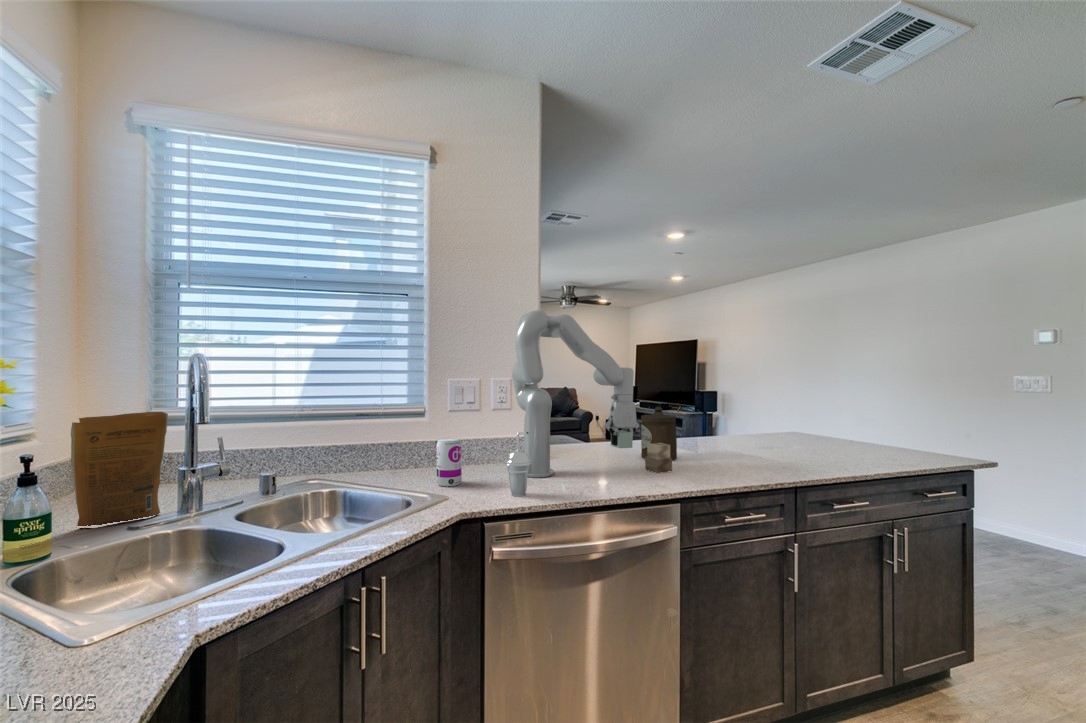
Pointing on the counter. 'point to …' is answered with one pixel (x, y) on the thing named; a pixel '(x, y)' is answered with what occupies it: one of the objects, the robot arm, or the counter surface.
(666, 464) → the walnut base block
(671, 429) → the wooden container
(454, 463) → the supplement can
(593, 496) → the counter surface
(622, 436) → the sage cube
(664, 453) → the oak upper block
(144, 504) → the pancake mix bag
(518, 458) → the cup with straw
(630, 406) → the robot arm
